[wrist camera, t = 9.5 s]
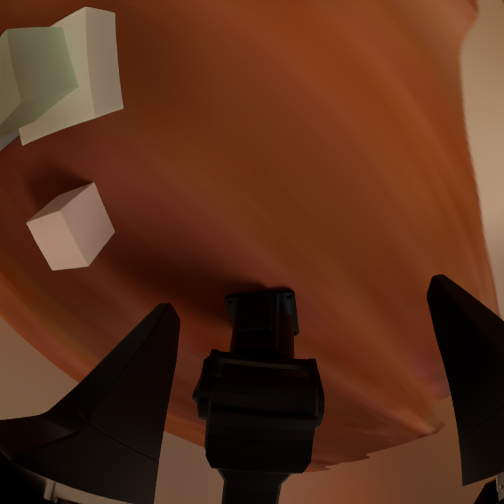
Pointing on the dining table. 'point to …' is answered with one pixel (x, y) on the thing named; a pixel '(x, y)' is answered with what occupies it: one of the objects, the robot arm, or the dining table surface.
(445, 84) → the dining table surface
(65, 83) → the sage cube
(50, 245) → the pink cube
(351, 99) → the dining table surface
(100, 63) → the cream base
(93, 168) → the dining table surface
